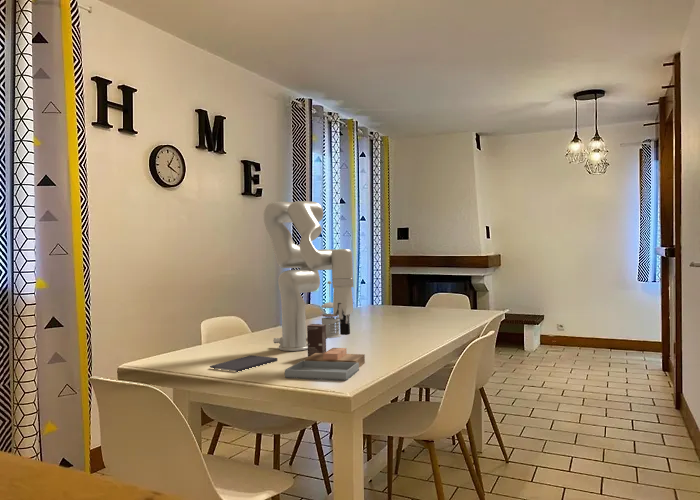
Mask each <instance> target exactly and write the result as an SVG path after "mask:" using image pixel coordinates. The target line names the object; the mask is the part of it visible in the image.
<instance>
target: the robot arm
mask: <svg viewBox="0 0 700 500" xmlns="http://www.w3.org/2000/svg"><path fill="white" fill-rule="evenodd" d="M323 217H324V210H323V207H322V205H321V204H320V203H319V202H316V201H309V200H308V201H306V200H305V201H304V200H303V201H302V200H297V201H294V202H293V201H273V202H270V203H268V204H267V205H266V206H265V208H264V211H263V222H264V226H265V228H266V231H267V232H268V235H269V237H270V240H271V244H272V248H273V253H274V256H275V260H276V263H277V265H278V266H279V268H282V269H287V270H285V271H283V272H282V273H280V274H279V276H278V278H277V279H278V280H277V282H278V283H277V284H278V289H279V293H280V302H281V304H280V305H281V335H282V336H281V337H274V338H273V343H274V344H279V345H278V350H280V351H285V352H300V351H301V352H302V351H305V350H308V343H307V322H306V320H307V319H306V301H305V300H304V298H303V296H302V293H313V292H316V291H317V290H319V288H320V286H321V285H320V284H321V277H320V276H321V275H320V273H319V271H330V270H331V275H332V276H331V278H332V281H331V283H332V289H333V296H332V297H333V299H332V300H333V301H332V303H333V308H332V311H333V312H332V314H334V315H335V317H337V315H338V319H339V334H340V335H341V336H349V335H350V334H351V326H350V324H351V323H350V321H351V320H350V319H351V318H350V317H351V314H353V312H354V301H353V300H354V298H353V289H352V288H354V266H353V265H354V263H353V252H352V250H351V249H348V248H340V249H325V248H324V249H316V248H315V246H314V244H313V243H312V242H313V241H315V240H316V239H317V238H319V236H320V235H321V234H322V231H323V230H322V229H323V228H322V226H321V224H320V223H319V222H321V221H322V220H323ZM284 223H292V224H293V226H294V227H295V229H296V230H297V231H298V234H299V235H300V237H301V238H300V241H299V244H295V242H294V240H293V236H292V233H291V231H290V230H289V229H288V227H286V226H285V225H284Z"/></svg>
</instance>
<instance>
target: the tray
mask: <svg viewBox="0 0 700 500" xmlns="http://www.w3.org/2000/svg"><path fill="white" fill-rule="evenodd" d="M359 371H360V367H359V363H355V362H328V361H305V360H300V361H297V362H296V363H295V364H293V365H290V366H289V367H288V368H285V369H284V378H285V379H298V380H299V379H301V380H303V379H305V380H321V381H322V380H325V381H326V380H327V381H341V382H342V381H344V382H345V381H348V380H349V379H350V378H352V377H353V376H354V375H355V374H356V373H357V372H359Z"/></svg>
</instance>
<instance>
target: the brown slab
mask: <svg viewBox="0 0 700 500" xmlns="http://www.w3.org/2000/svg"><path fill="white" fill-rule="evenodd" d="M365 357H366V355H365V354H360V353H347V354H346V355H344V356H343V357H341V358H340V359H338V360H327V359H323V353H314V354H313V355H311V356H309V357H308V356H307V357H305V358H304V361H328V362H355V363H359V368H360V367H362V366H363V365H365V364H366V360H365Z"/></svg>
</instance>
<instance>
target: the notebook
mask: <svg viewBox="0 0 700 500" xmlns="http://www.w3.org/2000/svg"><path fill="white" fill-rule="evenodd" d="M271 362H272V363H275V362H278V357H270V356H261V355H253V354H251V355H250V354H249V355H246V356H243V357H239V358H238V357H237V358H234V359H231V360H228V361H224V362H220V363H217V364H212V365H209V367H210V368H214V369H221V370H229V371H235V372H238V371H241V372H243V371H242V370H245V369H248V370H250V369H249V368H252V367H255V368H257V367H256V366H258V367H261V366H260V365H262V366H264V365H263V364H265V365H268V364H267V363H269V364H272V363H271ZM210 368H209V369H210ZM252 369H253V368H252ZM245 371H246V370H245ZM235 372H234V373H235ZM238 373H239V372H238Z"/></svg>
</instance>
